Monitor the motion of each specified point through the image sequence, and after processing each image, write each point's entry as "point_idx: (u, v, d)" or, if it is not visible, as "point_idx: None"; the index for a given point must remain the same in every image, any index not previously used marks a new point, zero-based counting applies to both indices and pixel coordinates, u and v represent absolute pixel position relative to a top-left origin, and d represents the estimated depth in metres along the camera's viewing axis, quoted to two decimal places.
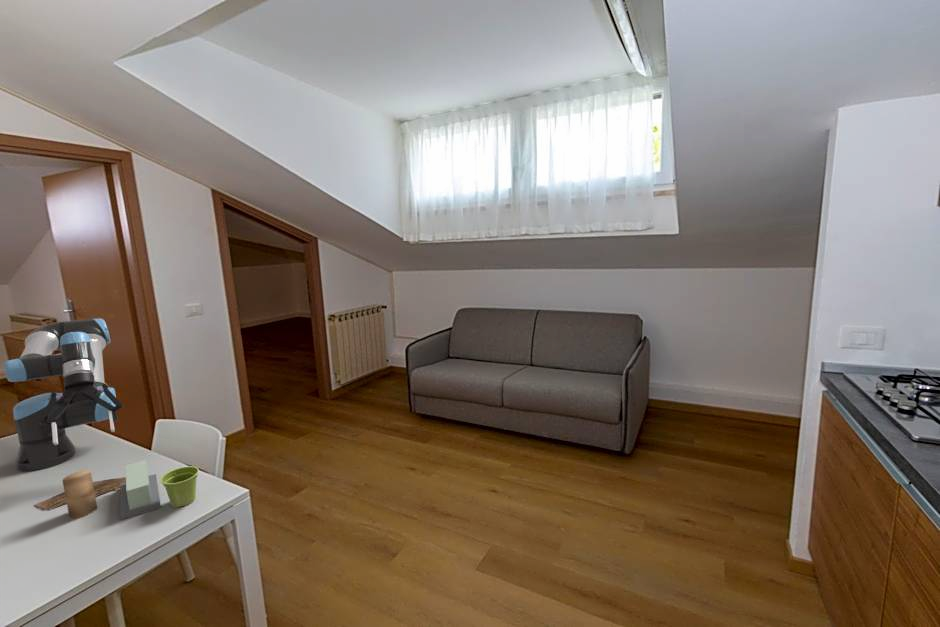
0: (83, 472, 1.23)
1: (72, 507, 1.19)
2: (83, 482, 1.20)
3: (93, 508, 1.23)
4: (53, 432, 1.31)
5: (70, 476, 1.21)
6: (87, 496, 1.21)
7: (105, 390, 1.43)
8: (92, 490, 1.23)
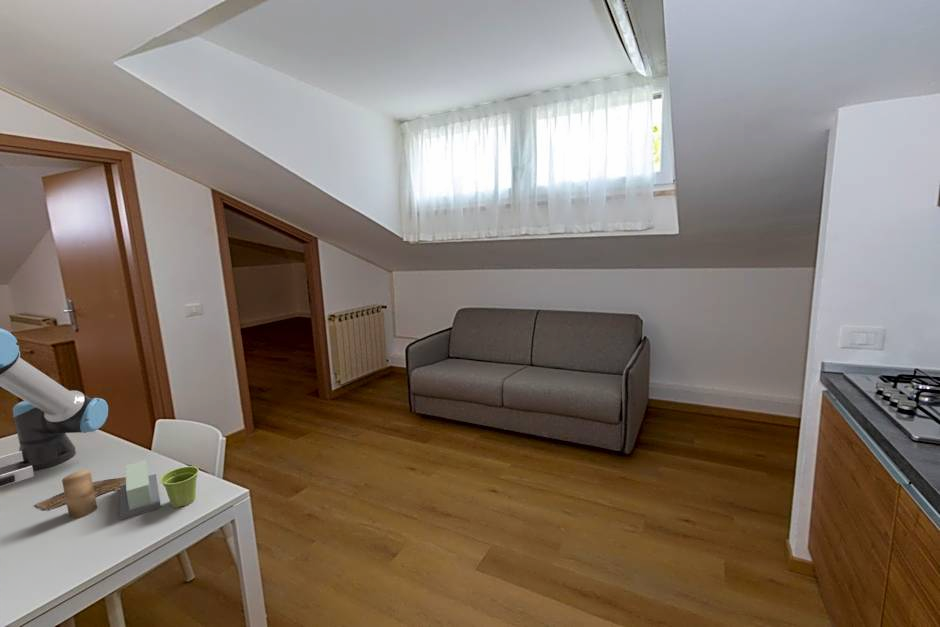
0: (83, 472, 1.23)
1: (72, 507, 1.19)
2: (83, 482, 1.20)
3: (93, 508, 1.23)
4: None
5: (70, 476, 1.21)
6: (86, 496, 1.21)
7: None
8: (92, 490, 1.23)
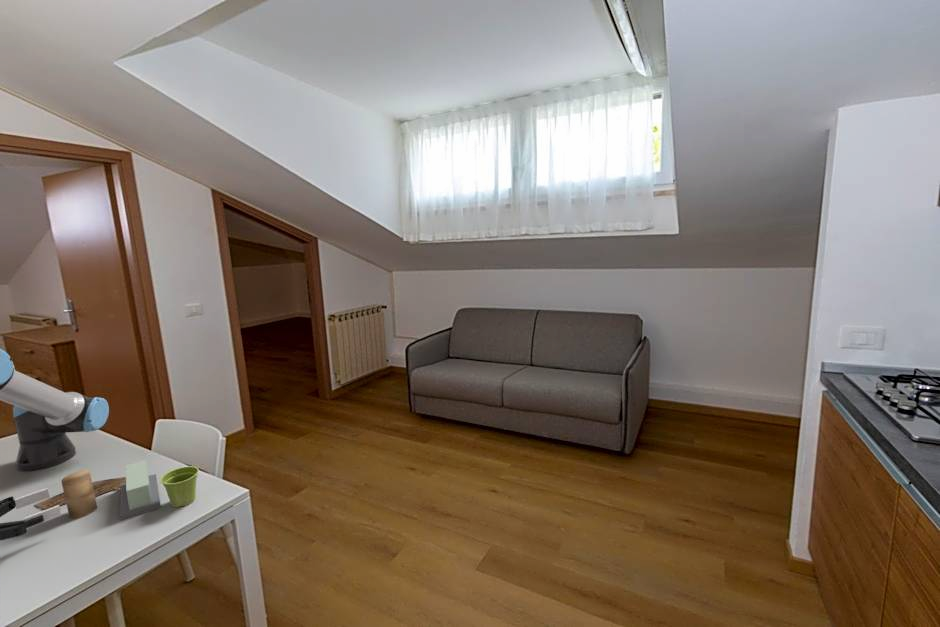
0: (82, 472, 1.23)
1: (72, 507, 1.19)
2: (83, 482, 1.20)
3: (93, 508, 1.23)
4: None
5: (69, 476, 1.21)
6: (86, 496, 1.21)
7: None
8: (91, 490, 1.23)
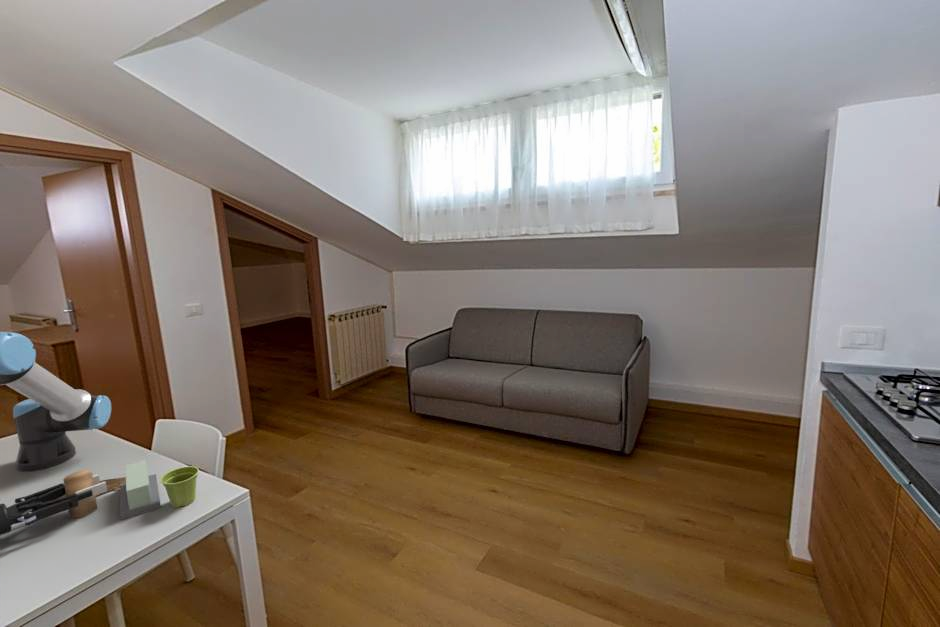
0: (84, 472, 1.23)
1: None
2: (85, 482, 1.20)
3: (93, 508, 1.23)
4: None
5: (71, 475, 1.21)
6: None
7: None
8: None
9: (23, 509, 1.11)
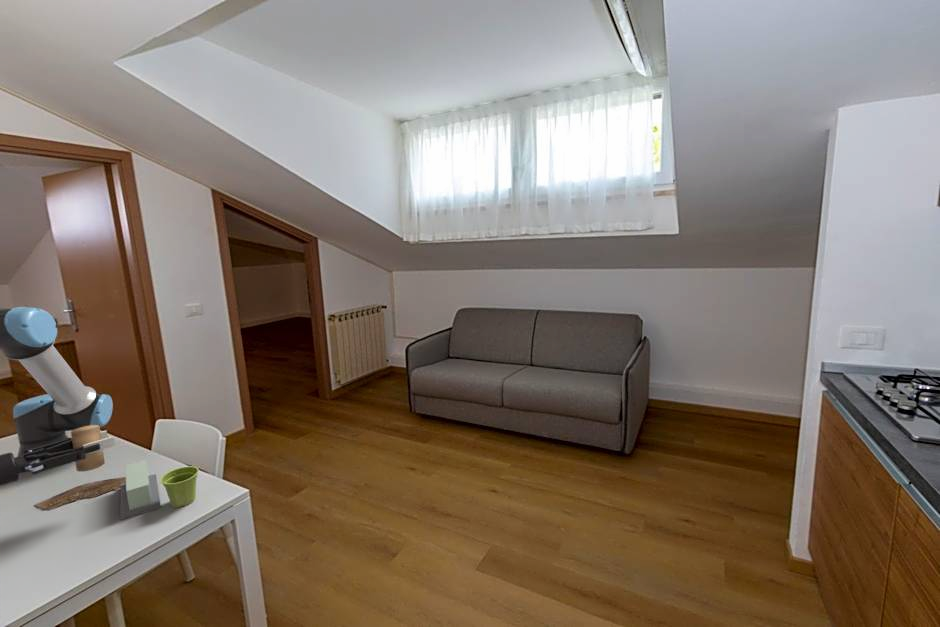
0: (91, 426, 1.22)
1: (81, 460, 1.18)
2: (92, 435, 1.19)
3: (101, 462, 1.22)
4: None
5: (78, 429, 1.20)
6: None
7: None
8: None
9: (30, 459, 1.10)
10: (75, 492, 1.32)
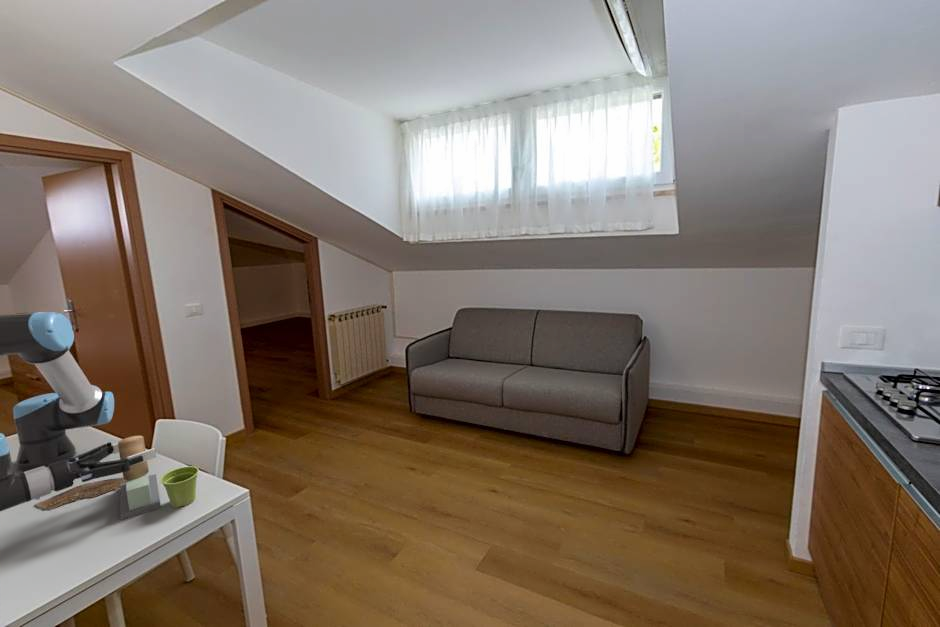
0: (135, 437, 1.28)
1: None
2: (138, 446, 1.25)
3: (146, 471, 1.28)
4: None
5: (124, 440, 1.26)
6: None
7: None
8: None
9: (82, 466, 1.16)
10: (75, 492, 1.32)
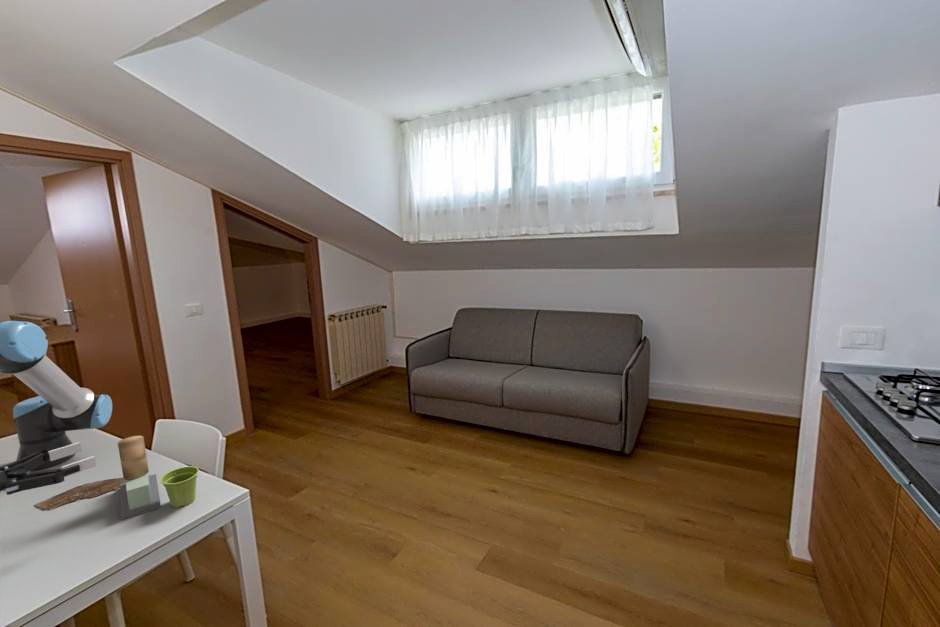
0: (135, 437, 1.28)
1: (128, 469, 1.25)
2: (138, 446, 1.25)
3: (146, 471, 1.28)
4: (66, 455, 1.20)
5: (124, 440, 1.26)
6: (141, 459, 1.26)
7: None
8: (145, 454, 1.28)
9: (10, 476, 1.05)
10: (75, 492, 1.32)
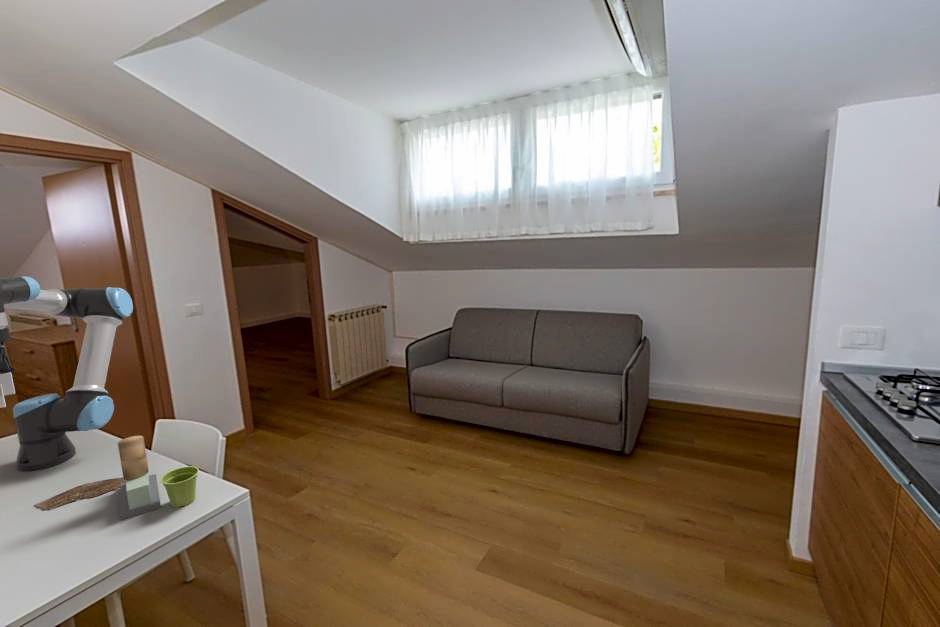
0: (135, 437, 1.28)
1: (128, 469, 1.25)
2: (138, 446, 1.25)
3: (146, 471, 1.28)
4: None
5: (124, 440, 1.26)
6: (141, 459, 1.26)
7: None
8: (145, 454, 1.28)
9: None
10: (75, 492, 1.32)
